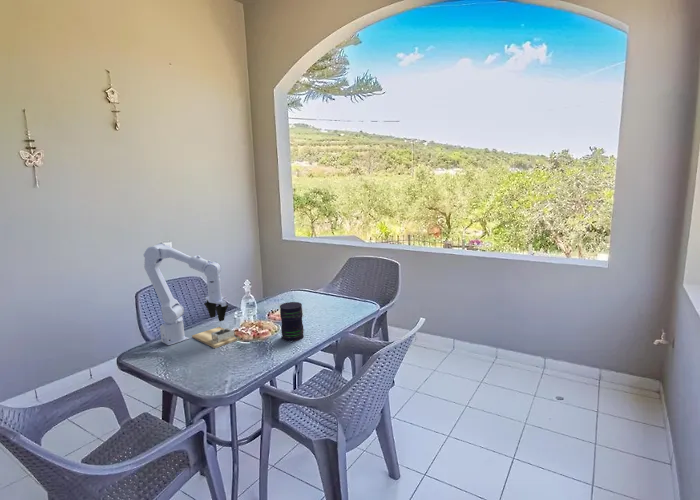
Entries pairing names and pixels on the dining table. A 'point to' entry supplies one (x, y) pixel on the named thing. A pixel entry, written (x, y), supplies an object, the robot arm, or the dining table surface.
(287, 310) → the storage jar
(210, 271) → the robot arm
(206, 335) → the board
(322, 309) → the dining table surface
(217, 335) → the grey tin box
